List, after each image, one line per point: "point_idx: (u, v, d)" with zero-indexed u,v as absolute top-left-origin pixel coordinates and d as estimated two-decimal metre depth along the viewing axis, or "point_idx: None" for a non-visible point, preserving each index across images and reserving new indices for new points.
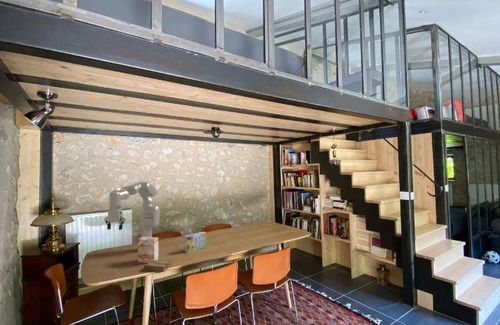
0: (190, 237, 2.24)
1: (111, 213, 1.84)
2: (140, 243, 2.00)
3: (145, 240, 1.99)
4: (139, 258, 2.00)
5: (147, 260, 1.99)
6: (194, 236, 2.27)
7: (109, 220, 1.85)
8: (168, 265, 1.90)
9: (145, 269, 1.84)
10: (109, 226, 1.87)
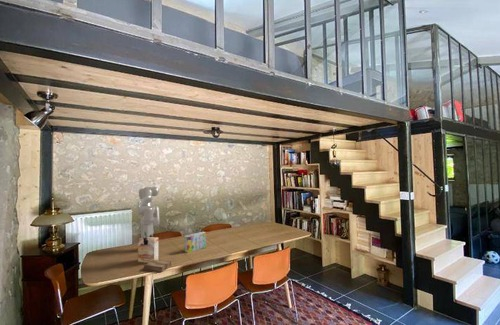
0: (190, 237, 2.24)
1: (150, 227, 2.01)
2: (140, 243, 2.00)
3: None
4: (139, 258, 2.00)
5: (147, 260, 1.99)
6: (194, 236, 2.27)
7: (148, 234, 1.99)
8: (168, 266, 1.89)
9: (145, 268, 1.85)
10: None
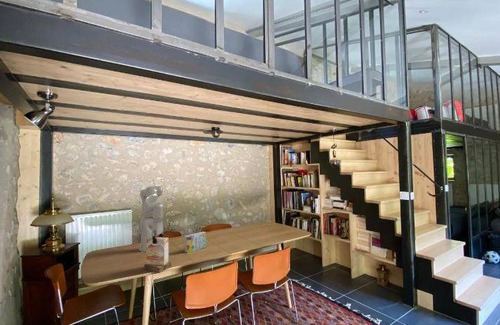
0: (190, 237, 2.24)
1: (159, 225, 1.87)
2: (149, 244, 1.86)
3: None
4: (148, 260, 1.86)
5: (157, 262, 1.85)
6: (194, 236, 2.27)
7: (158, 233, 1.86)
8: (167, 267, 1.87)
9: (145, 268, 1.86)
10: None
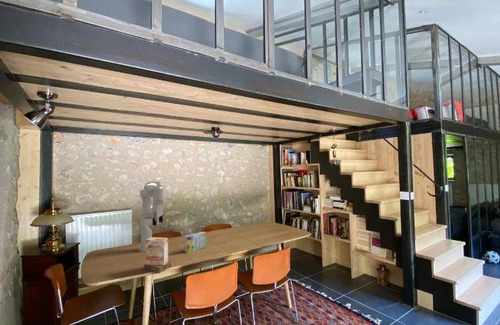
0: (190, 237, 2.24)
1: (159, 208, 1.88)
2: (148, 244, 1.85)
3: (154, 241, 1.85)
4: (147, 260, 1.86)
5: (156, 262, 1.85)
6: (194, 236, 2.27)
7: (158, 215, 1.86)
8: (167, 266, 1.87)
9: (145, 268, 1.86)
10: None
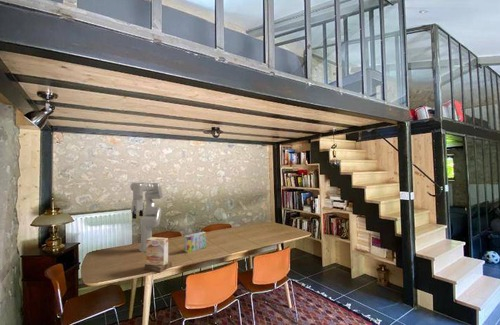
0: (190, 237, 2.24)
1: (139, 202, 2.05)
2: (148, 244, 1.86)
3: (154, 241, 1.85)
4: (148, 260, 1.86)
5: (156, 262, 1.85)
6: (194, 236, 2.27)
7: (138, 209, 2.03)
8: (167, 266, 1.88)
9: (146, 268, 1.87)
10: None
